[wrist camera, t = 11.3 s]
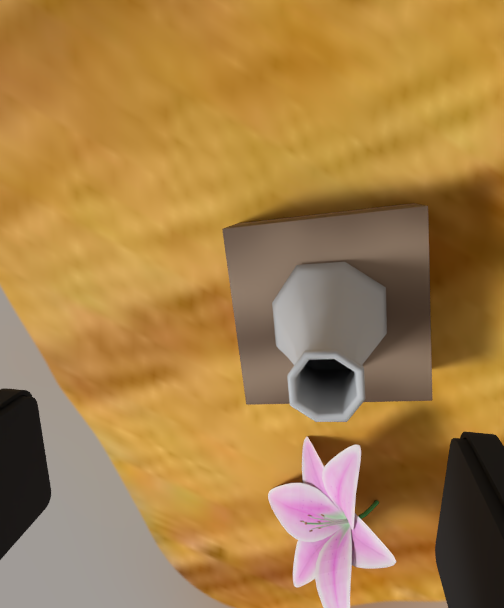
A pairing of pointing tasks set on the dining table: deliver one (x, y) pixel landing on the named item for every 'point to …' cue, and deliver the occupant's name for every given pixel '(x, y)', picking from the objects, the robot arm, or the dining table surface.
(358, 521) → the lily
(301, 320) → the flask
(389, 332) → the walnut block
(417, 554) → the dining table surface
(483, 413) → the dining table surface
